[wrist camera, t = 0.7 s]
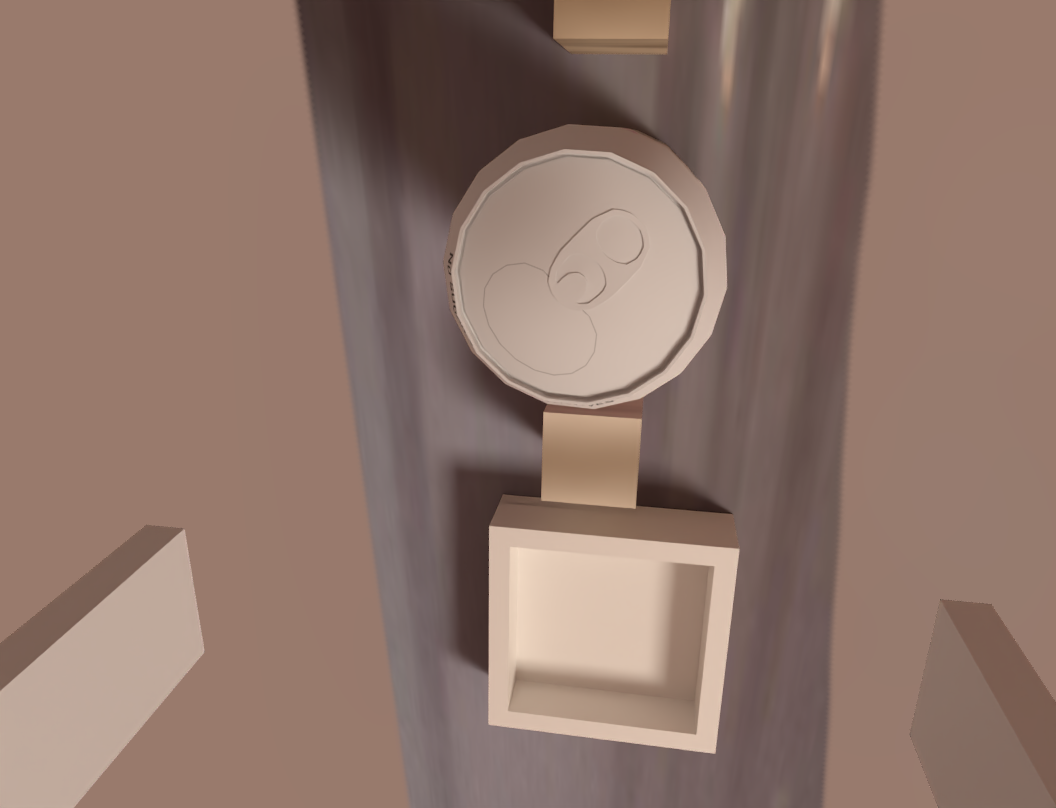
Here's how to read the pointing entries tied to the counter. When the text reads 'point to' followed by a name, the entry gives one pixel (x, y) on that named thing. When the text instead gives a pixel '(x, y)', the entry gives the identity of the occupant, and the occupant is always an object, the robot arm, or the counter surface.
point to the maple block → (612, 26)
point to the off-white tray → (610, 620)
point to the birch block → (592, 454)
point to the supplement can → (586, 265)
